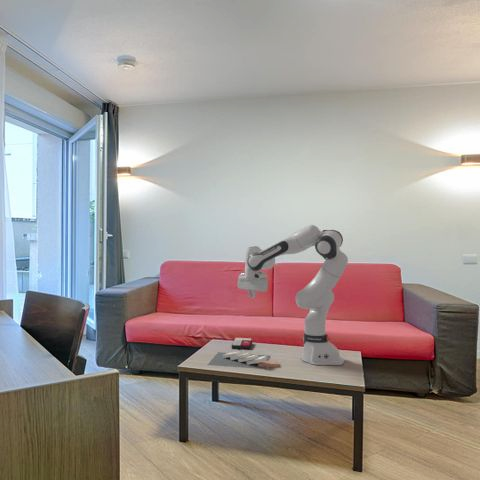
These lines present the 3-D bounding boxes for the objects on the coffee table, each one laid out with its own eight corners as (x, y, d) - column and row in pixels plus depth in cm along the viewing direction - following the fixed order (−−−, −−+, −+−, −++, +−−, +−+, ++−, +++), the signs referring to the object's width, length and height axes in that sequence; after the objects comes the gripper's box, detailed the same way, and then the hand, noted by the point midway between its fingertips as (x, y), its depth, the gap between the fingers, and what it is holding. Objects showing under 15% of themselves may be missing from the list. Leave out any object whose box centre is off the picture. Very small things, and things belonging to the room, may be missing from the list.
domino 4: (246, 361, 196) (261, 358, 190) (251, 358, 200) (266, 355, 194) (247, 364, 195) (262, 361, 190) (252, 361, 199) (267, 358, 194)
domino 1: (222, 355, 207) (235, 352, 200) (228, 353, 210) (241, 351, 204) (223, 358, 206) (236, 356, 200) (229, 356, 210) (242, 354, 204)
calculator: (231, 344, 224) (234, 336, 239) (231, 351, 224) (234, 343, 239) (250, 345, 223) (252, 337, 238) (250, 352, 223) (252, 344, 238)
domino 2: (229, 357, 203) (243, 354, 197) (236, 355, 207) (249, 352, 201) (230, 360, 203) (244, 357, 196) (236, 358, 206) (250, 355, 200)
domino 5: (258, 363, 192) (278, 363, 192) (257, 360, 197) (277, 360, 197) (258, 366, 192) (278, 367, 192) (257, 363, 197) (277, 363, 197)
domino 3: (237, 359, 199) (251, 356, 193) (243, 357, 203) (257, 354, 197) (238, 362, 199) (252, 359, 193) (244, 360, 203) (258, 357, 197)
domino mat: (270, 356, 212) (270, 355, 212) (265, 370, 189) (265, 369, 189) (218, 353, 217) (218, 352, 217) (207, 365, 195) (207, 364, 195)
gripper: (235, 273, 227) (235, 296, 226) (262, 275, 213) (262, 300, 213) (242, 272, 231) (241, 295, 231) (269, 275, 218) (269, 299, 218)
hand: (252, 297), depth 222 cm, fingers closed
